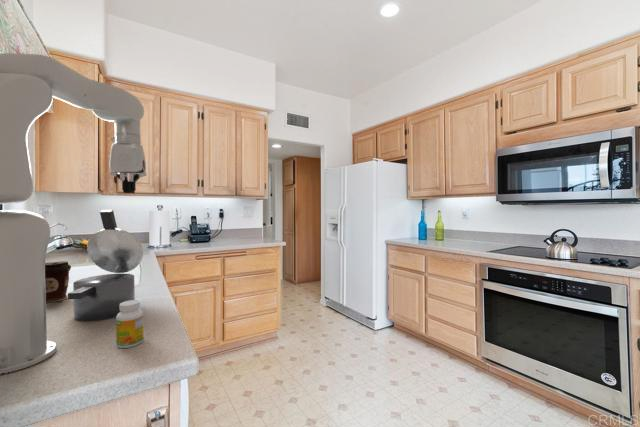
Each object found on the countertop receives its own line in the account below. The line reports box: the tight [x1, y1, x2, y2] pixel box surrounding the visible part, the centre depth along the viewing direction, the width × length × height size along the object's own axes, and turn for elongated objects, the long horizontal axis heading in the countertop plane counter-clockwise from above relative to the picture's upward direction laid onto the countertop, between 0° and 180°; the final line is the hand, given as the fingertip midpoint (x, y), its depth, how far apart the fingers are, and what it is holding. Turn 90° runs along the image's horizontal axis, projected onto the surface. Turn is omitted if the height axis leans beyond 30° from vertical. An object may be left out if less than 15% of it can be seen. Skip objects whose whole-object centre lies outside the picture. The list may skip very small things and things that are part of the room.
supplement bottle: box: [115, 299, 144, 349], centre depth 69 cm, size 5×5×10 cm
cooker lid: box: [86, 209, 144, 274], centre depth 95 cm, size 22×16×3 cm
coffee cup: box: [45, 260, 72, 303], centre depth 100 cm, size 9×8×13 cm
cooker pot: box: [67, 273, 136, 322], centre depth 87 cm, size 23×15×10 cm, turn 7°
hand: (129, 192), depth 103 cm, fingers closed
